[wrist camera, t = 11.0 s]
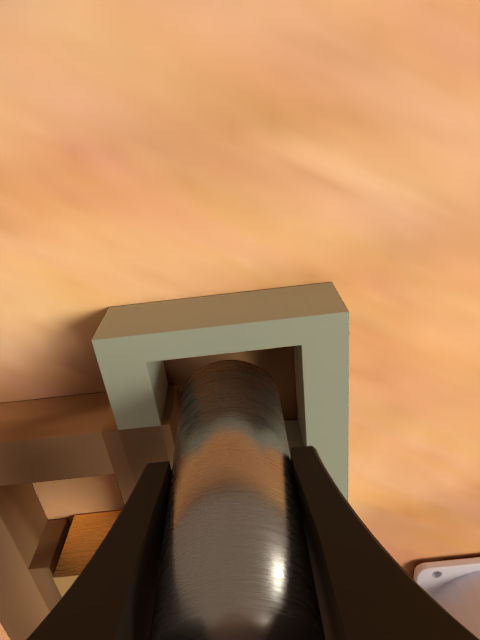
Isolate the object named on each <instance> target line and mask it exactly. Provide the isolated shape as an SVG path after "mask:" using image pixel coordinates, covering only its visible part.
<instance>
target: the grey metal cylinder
mask: <svg viewBox="0 0 480 640" xmlns="http://www.w3.org/2000/svg"><path fill="white" fill-rule="evenodd" d="M149 640H325V635H324V629H323V624H322V619H321V614H320V608H319V603H318V598H317V593H316V587H315V582H314V577H313V572H312V566H311V561H310V556H309V550H308V545H307V540H306V535H305V529H304V524H303V519H302V514H301V508H300V503H299V498H298V493H297V488H296V483H295V478H294V473H293V467H292V462H291V456H290V450H289V445H288V440H287V435H286V429H285V424H284V419H283V413H282V408H281V403H280V398H279V392H278V389H277V386H276V384H275V382H274V381H273V379H272V378H271V377H270V376H269V375H268V373H266V372H265V371H264V370H263V369H261V368H259V367H258V366H256V365H253V364H251V363H248V362H244V361H238V360H224V361H218V362H214V363H211V364H209V365H206V366H204V367H203V368H201V369H199V370H198V371H197V372H195V373H194V374H193V375H192V376H191V377H190V378H189V380H188V381H187V383H186V384H185V386H184V389H183V392H182V397H181V404H180V412H179V419H178V427H177V434H176V442H175V449H174V457H173V465H172V472H171V480H170V487H169V495H168V502H167V510H166V517H165V525H164V532H163V540H162V548H161V555H160V563H159V570H158V578H157V585H156V593H155V600H154V608H153V615H152V623H151V630H150V638H149Z"/></svg>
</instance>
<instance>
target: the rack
mask: <svg viewBox="0 0 480 640" xmlns="http://www.w3.org/2000/svg"><path fill="white" fill-rule="evenodd" d="M91 341H92V344H93V348H94V351H95V354H96V358H97V361H98V364H99V368H100V371H101V374H102V378H103V381H104V384H105V388H106V391H107V394H108V398H109V401H110V405H111V408H112V411H113V415H114V418H115V421H116V425H117V428H118V430H124V429H133V428H142V427H152V426H161V423H162V418H163V412H164V407H165V401H166V396H167V390H168V380H167V376H166V371H165V367H164V362H163V360H171V359H180V358H189V357H198V356H207V355H216V354H225V353H234V352H243V351H252V350H261V349H270V348H279V347H288V346H293V347H294V364H295V380H296V397H297V413H298V419H294V420H285V421H284V424H285V429H286V435H287V440H288V445H289V450H290V448H294V447H303V446H313V447H314V448H316V450H317V453H318V455H319V457H320V459H321V461H322V462H323V464H324V466H325V468H326V469H327V471H328V473H329V474H330V476H331V478H332V479H333V481H334V482H335V484H336V486H337V487H338V489H339V490H340V492H341V493H342V494H343V496H344V497H345V499H346V500H347V501H348V420H349V311H348V309H347V307H346V306H345V304H344V302H343V300H342V299H341V297H340V295H339V293H338V292H337V290H336V288H335V286H334V285H333V283H332V282H328V283H319V284H310V285H301V286H292V287H283V288H275V289H266V290H257V291H248V292H239V293H230V294H221V295H213V296H204V297H195V298H186V299H177V300H168V301H159V302H151V303H142V304H133V305H124V306H115V307H109V308H108V310H107V312H106V314H105V315H104V317H103V319H102V321H101V323H100V325H99V327H98V329H97V331H96V332H95V334H94V336H93V338H92V340H91ZM157 428H158V427H157ZM132 432H133V431H132ZM150 433H151V432H150ZM121 434H122V432H121ZM128 434H129V433H128ZM140 434H141V433H140ZM158 434H159V433H158ZM119 435H120V434H119ZM129 435H131V434H129ZM141 435H142V434H141ZM141 435H139V436H141ZM145 435H146V434H145ZM132 436H133V435H132ZM132 436H131V438H132ZM136 436H138V435H136ZM148 436H149V435H148ZM148 436H147V437H148ZM145 437H146V436H145ZM151 437H152V434H151ZM126 438H127V437H126ZM155 438H156V437H155ZM160 438H161V437H160ZM127 439H129V438H127ZM132 439H135V438H134V437H133V438H132ZM137 439H139V438H137ZM144 439H145V438H144ZM144 439H143V441H144ZM149 439H150V438H149ZM157 439H158V438H157ZM161 439H162V438H161ZM161 439H160V440H161ZM146 440H147V439H146ZM146 440H145V441H146ZM127 441H128V440H127ZM140 441H141V440H140ZM152 441H153V440H152ZM156 441H157V440H156ZM162 441H163V439H162ZM164 441H165V440H164ZM130 442H131V441H129V443H130ZM136 442H137V441H136ZM146 442H147V441H146ZM131 443H132V442H131ZM144 443H145V442H144ZM147 443H148V442H147ZM155 443H156V442H154V443H153V444H155ZM157 443H158V441H157ZM160 443H161V442H159V443H158V444H160ZM163 443H164V442H163ZM124 444H125V443H124ZM138 444H139V443H138ZM149 444H151V443H149ZM133 445H134V443H133V444H132V445H131V446H133ZM140 445H141V444H140ZM145 445H146V444H145ZM160 445H161V444H160ZM165 445H166V444H165ZM128 446H129V445H128ZM138 446H139V445H138ZM150 446H151V445H150ZM157 446H158V445H157ZM145 447H149V446H145ZM152 447H153V446H152ZM158 448H159V447H158ZM147 449H148V448H147ZM151 449H152V448H151ZM155 449H156V447H155ZM162 449H163V448H162ZM127 450H128V449H127ZM130 450H131V449H130ZM144 450H145V449H144ZM164 450H165V449H164ZM138 451H139V450H138ZM149 451H150V450H149ZM149 451H148V452H149ZM131 452H132V451H131ZM131 452H130V453H131ZM140 452H141V451H140ZM146 452H147V451H146ZM163 452H164V451H163ZM126 453H127V452H126ZM132 453H133V452H132ZM133 454H135V453H133ZM139 454H140V453H139ZM146 454H147V453H146ZM146 454H145V455H146ZM166 454H167V453H166ZM150 455H151V452H150ZM152 455H153V454H152ZM155 455H156V454H155ZM157 455H159V454H157ZM161 455H162V454H161ZM163 455H164V454H163ZM167 455H168V454H167ZM290 456H291V452H290ZM134 457H135V456H134ZM134 457H133V458H134ZM136 457H137V456H136ZM147 457H148V455H147ZM149 457H150V456H149ZM150 458H152V457H150ZM154 458H155V456H154ZM159 458H160V457H159ZM161 458H162V457H161ZM131 459H132V458H131ZM134 459H135V458H134ZM140 459H141V458H140ZM164 459H165V458H164ZM168 459H169V458H168ZM141 460H142V459H141ZM150 460H151V459H150ZM129 461H130V460H129ZM139 461H140V460H139ZM146 461H147V460H146ZM148 461H149V460H148ZM166 461H167V460H166ZM140 462H142V461H140ZM152 462H153V461H152ZM157 462H159V461H157ZM162 462H163V460H162ZM130 465H131V464H130ZM133 465H134V464H133ZM139 466H140V465H139ZM142 466H143V465H142ZM144 466H145V465H144ZM129 468H130V467H129ZM139 468H140V467H139ZM136 469H137V468H136ZM139 475H140V473H139ZM135 477H136V476H135ZM137 477H138V476H137ZM132 478H133V477H132ZM135 480H136V479H135ZM135 480H134V481H135ZM135 484H136V483H135Z"/></svg>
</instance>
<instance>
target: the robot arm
mask: <svg viewBox="0 0 480 640" xmlns="http://www.w3.org/2000/svg"><path fill="white" fill-rule="evenodd" d="M290 452H291V462H292V467H293V473H294V478H295V483H296V488H297V493H298V498H299V503H300V508H301V514H302V519H303V524H304V529H305V535H306V540H307V545H308V550H309V556H310V561H311V566H312V572H313V577H314V582H315V587H316V593H317V598H318V603H319V608H320V614H321V619H322V624H323V629H324V634H325V639H326V640H480V557H475V558H465V559H455V560H446V561H436V562H426V563H421V564H419V565H417V566H416V568H415V570H414V578H412V577H411V576H410V575H409V574H408V573H407V572H406V571H405V570H404V569H403V568H402V567H401V566H400V565H399V564H398V563H397V562H396V561H395V560H394V558H393V557H392V556H391V555H390V554H389V553H388V552H387V551H386V550H385V548H384V547H383V546H382V545H381V544H380V543H379V541H378V540H377V539H376V538H375V537H374V535H373V534H372V533H371V532H370V531H369V529H368V528H367V527H366V526H365V524H364V523H363V522H362V520H361V519H360V518H359V517H358V515H357V514H356V513H355V511H354V510H353V509H352V507H351V506H350V504H349V503H348V501H347V500H346V499H345V497H344V496H343V494H342V493H341V492H340V490H339V489H338V487H337V486H336V484H335V482H334V481H333V479H332V478H331V476H330V474H329V473H328V471H327V469H326V468H325V466H324V464H323V462H322V461H321V459H320V457H319V455H318V453H317V450H316V448H314V447H313V446H303V447H294V448H290ZM171 472H172V470H171V466H170V462H169V461H164V462H155V463H148V464H147V465H146V466H145V468H144V470H143V472H142V474H141V476H140V478H139V480H138V482H137V483H136V485H135V487H134V489H133V491H132V493H131V495H130V496H129V498H128V500H127V502H126V504H125V505H124V507H123V509H122V510H121V512H120V514H119V515H118V517H117V519H116V520H115V522H114V524H113V525H112V527H111V529H110V530H109V532H108V534H107V535H106V537H105V538H104V540H103V541H102V543H101V544H100V546H99V547H98V549H97V550H96V552H95V553H94V555H93V556H92V558H91V559H90V561H89V562H88V564H87V565H86V566H85V568H84V569H83V571H82V572H81V573H80V575H79V576H78V577H77V579H76V580H75V581H74V583H73V584H72V585H71V587H70V588H69V589H68V590H67V592H66V593H65V594H64V596H63V597H62V598H61V599H60V601H59V602H58V603H57V604H56V605H55V607H54V608H53V609H52V610H51V611H50V613H49V614H48V615H47V616H46V617H45V619H44V620H43V621H42V622H41V623H40V624H39V626H38V627H37V628H36V629H35V630H34V631H33V632H32V634H31V635H30V636H29V637H28V638H27V639H26V640H149V638H150V630H151V623H152V615H153V608H154V600H155V593H156V585H157V578H158V570H159V563H160V555H161V548H162V540H163V532H164V525H165V517H166V510H167V502H168V495H169V487H170V480H171Z"/></svg>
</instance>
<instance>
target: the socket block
mask: <svg viewBox="0 0 480 640" xmlns="http://www.w3.org/2000/svg"><path fill="white" fill-rule="evenodd" d="M179 412H180V401H179V396H178V391H177V386H176V384H173V385H168V390H167V396H166V401H165V407H164V412H163V418H162V423H161V426H152V427H142V428H133V429H124V430H118V428H117V425H116V421H115V418H114V415H113V411H112V408H111V405H110V401H109V398H108V394H107V392H100V393H91V394H82V395H73V396H63V397H54V398H45V399H36V400H27V401H18V402H9V403H0V623H1V625H2V626H3V628H4V629H5V631H6V633H7V634H8V636H9V638H10V639H11V640H26V639H27V638H28V637H29V636H30V635H31V634H32V632H33V631H34V630H35V629H36V628H37V627H38V626H39V624H40V623H41V622H42V621H43V620H44V619H45V617H46V616H47V615H48V614H49V613H50V611H51V610H52V609H53V608H54V607H55V605H56V604H57V603H58V602H59V601H60V599H61V598H62V596H61V594H60V592H59V590H58V588H57V586H56V584H55V582H54V580H53V575H54V573H55V570H56V567H57V564H58V561H59V558H60V555H61V553H62V550H63V547H64V544H65V541H66V538H67V535H68V533H69V530H70V524H69V522H68V520H67V519H57V520H47V517H46V515H45V513H44V511H43V508H42V506H41V504H40V502H39V499H38V497H37V495H36V493H35V490H34V488H33V486H32V484H31V483H34V482H43V481H53V480H62V479H71V478H81V477H90V476H100V475H109V474H115V477H116V480H117V483H118V486H119V489H120V492H121V495H122V498H123V502H124V505H125V504H126V502H127V500H128V498H129V496H130V495H131V493H132V491H133V489H134V487H135V485H136V484H135V483H137V482H138V480H139V478H140V476H141V474H142V472H143V470H144V468H145V466H146V465H147V464H148V463H155V462H157V461H159V462H162V460H163V462H164V461H166V460H167V461H169V462H170V466H171V470H172V465H173V457H174V449H175V442H176V434H177V427H178V419H179ZM157 427H158V428H157ZM132 431H133V432H132ZM121 432H122V434H121ZM150 432H151V433H150ZM128 433H129V434H131V435H129V434H128ZM140 433H141V434H142V435H141V434H140ZM158 433H159V434H158ZM119 434H120V435H119ZM145 434H146V435H145ZM151 434H152V437H151ZM132 435H133V436H132ZM136 435H138V436H136ZM139 435H141V436H139ZM148 435H149V436H148ZM131 436H132V438H133V437H134V438H135V439H132V438H131ZM145 436H146V437H145ZM147 436H148V437H147ZM126 437H127V438H129V439H127V438H126ZM155 437H156V438H155ZM160 437H161V438H162V439H163V441H162V439H161V438H160ZM137 438H139V439H137ZM144 438H145V439H144ZM149 438H150V439H149ZM157 438H158V439H157ZM143 439H144V441H143ZM146 439H147V440H146ZM160 439H161V440H160ZM127 440H128V441H127ZM140 440H141V441H140ZM145 440H146V441H147V442H148V443H147V442H146V441H145ZM152 440H153V441H152ZM156 440H157V441H158V443H159V442H161V443H160V444H161V445H160V444H158V443H157V441H156ZM164 440H165V441H164ZM129 441H131V442H132V443H131V442H130V443H129ZM136 441H137V442H136ZM144 442H145V443H144ZM154 442H156V443H155V444H153V443H154ZM163 442H164V443H163ZM124 443H125V444H124ZM133 443H134V445H133V446H131V445H132V444H133ZM138 443H139V444H138ZM149 443H151V444H149ZM140 444H141V445H140ZM145 444H146V445H145ZM165 444H166V445H165ZM128 445H129V446H128ZM138 445H139V446H138ZM150 445H151V446H150ZM157 445H158V446H157ZM145 446H149V447H145ZM152 446H153V447H152ZM155 447H156V449H155ZM158 447H159V448H158ZM147 448H148V449H147ZM151 448H152V449H151ZM162 448H163V449H162ZM127 449H128V450H127ZM130 449H131V450H130ZM144 449H145V450H144ZM164 449H165V450H164ZM138 450H139V451H138ZM149 450H150V451H149ZM131 451H132V452H133V453H135V454H133V453H132V452H131ZM140 451H141V452H140ZM146 451H147V452H146ZM148 451H149V452H148ZM163 451H164V452H163ZM126 452H127V453H126ZM130 452H131V453H130ZM150 452H151V455H150ZM139 453H140V454H139ZM146 453H147V454H146ZM166 453H167V454H168V455H167V454H166ZM145 454H146V455H145ZM152 454H153V455H152ZM155 454H156V455H155ZM157 454H159V455H157ZM161 454H162V455H161ZM163 454H164V455H163ZM147 455H148V457H147ZM134 456H135V457H134ZM136 456H137V457H136ZM149 456H150V457H152V458H150V457H149ZM154 456H155V458H154ZM133 457H134V458H135V459H134V458H133ZM159 457H160V458H159ZM161 457H162V458H161ZM131 458H132V459H131ZM140 458H141V459H142V460H141V459H140ZM164 458H165V459H164ZM168 458H169V459H168ZM150 459H151V460H150ZM129 460H130V461H129ZM139 460H140V461H142V462H140V461H139ZM146 460H147V461H146ZM148 460H149V461H148ZM152 461H153V462H152ZM130 464H131V465H130ZM133 464H134V465H133ZM139 465H140V466H139ZM142 465H143V466H142ZM144 465H145V466H144ZM129 467H130V468H129ZM139 467H140V468H139ZM136 468H137V469H136ZM139 473H140V475H139ZM135 476H136V477H135ZM137 476H138V477H137ZM132 477H133V478H132ZM135 479H136V480H135ZM134 480H135V481H134Z"/></svg>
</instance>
